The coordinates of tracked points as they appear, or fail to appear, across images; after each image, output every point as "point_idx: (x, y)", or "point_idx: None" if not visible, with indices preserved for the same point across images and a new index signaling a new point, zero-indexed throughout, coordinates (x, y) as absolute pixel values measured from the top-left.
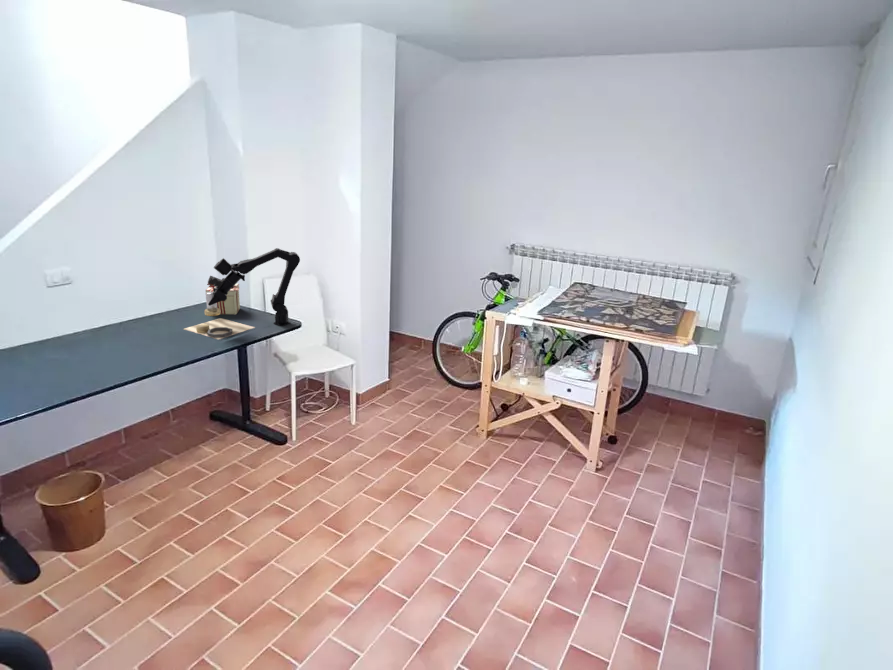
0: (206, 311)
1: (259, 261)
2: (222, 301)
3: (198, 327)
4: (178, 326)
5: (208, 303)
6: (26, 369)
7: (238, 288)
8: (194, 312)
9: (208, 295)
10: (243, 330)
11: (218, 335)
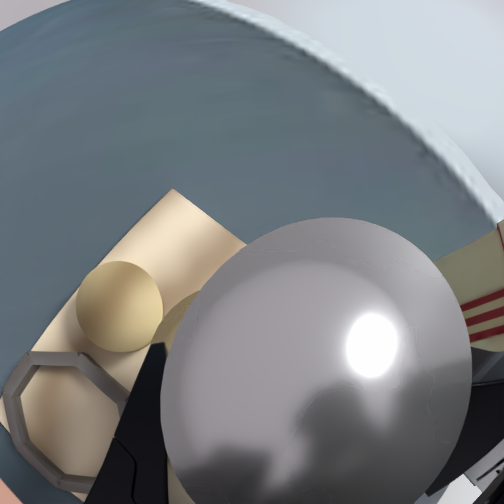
0: (180, 316)
1: None
2: (487, 330)
3: (87, 281)
4: (250, 163)
5: (156, 349)
6: (12, 30)
7: None
8: (432, 205)
9: (165, 364)
10: None
11: (9, 416)
